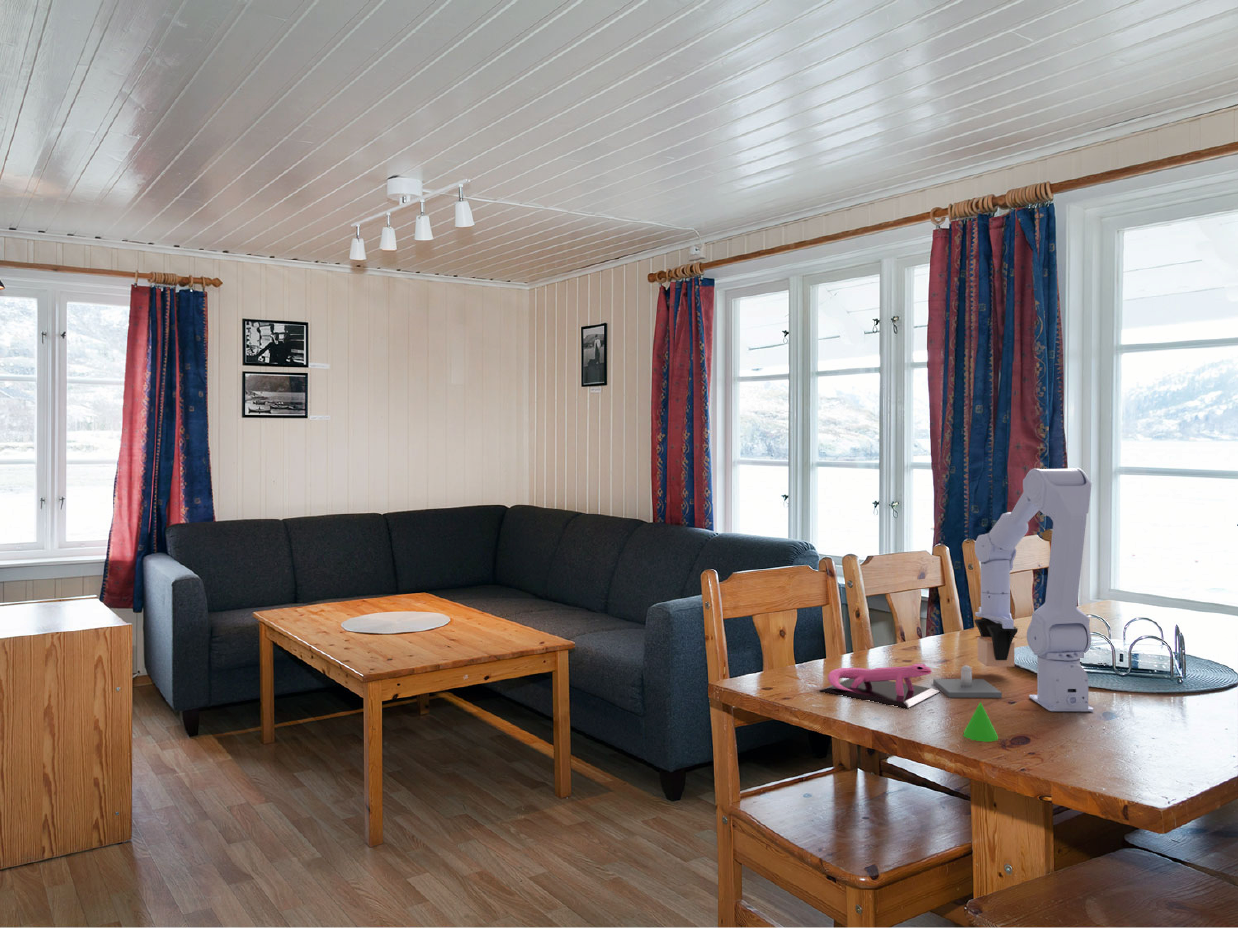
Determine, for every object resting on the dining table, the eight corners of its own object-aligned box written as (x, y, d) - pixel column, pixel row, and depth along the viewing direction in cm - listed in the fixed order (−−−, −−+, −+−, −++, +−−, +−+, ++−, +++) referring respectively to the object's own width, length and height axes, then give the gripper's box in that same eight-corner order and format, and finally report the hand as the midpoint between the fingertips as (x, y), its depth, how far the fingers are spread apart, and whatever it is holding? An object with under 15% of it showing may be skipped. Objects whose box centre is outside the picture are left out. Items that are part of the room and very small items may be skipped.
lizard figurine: (915, 714, 165) (915, 674, 165) (818, 694, 179) (818, 657, 179) (947, 697, 176) (947, 659, 176) (854, 679, 190) (853, 645, 189)
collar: (1014, 666, 187) (1014, 642, 187) (986, 666, 187) (986, 642, 187) (1004, 660, 192) (1004, 636, 192) (977, 660, 193) (977, 636, 193)
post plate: (1001, 697, 173) (1001, 671, 173) (948, 697, 174) (948, 671, 174) (983, 683, 183) (983, 659, 183) (933, 683, 184) (933, 659, 184)
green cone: (955, 737, 151) (955, 701, 151) (970, 729, 155) (970, 694, 155) (990, 745, 146) (990, 708, 146) (1005, 736, 151) (1005, 701, 151)
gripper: (964, 586, 197) (964, 648, 197) (988, 597, 182) (988, 664, 183) (997, 586, 197) (997, 648, 197) (1023, 597, 182) (1024, 664, 182)
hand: (995, 656), depth 190 cm, fingers closed on collar, 6 cm apart
